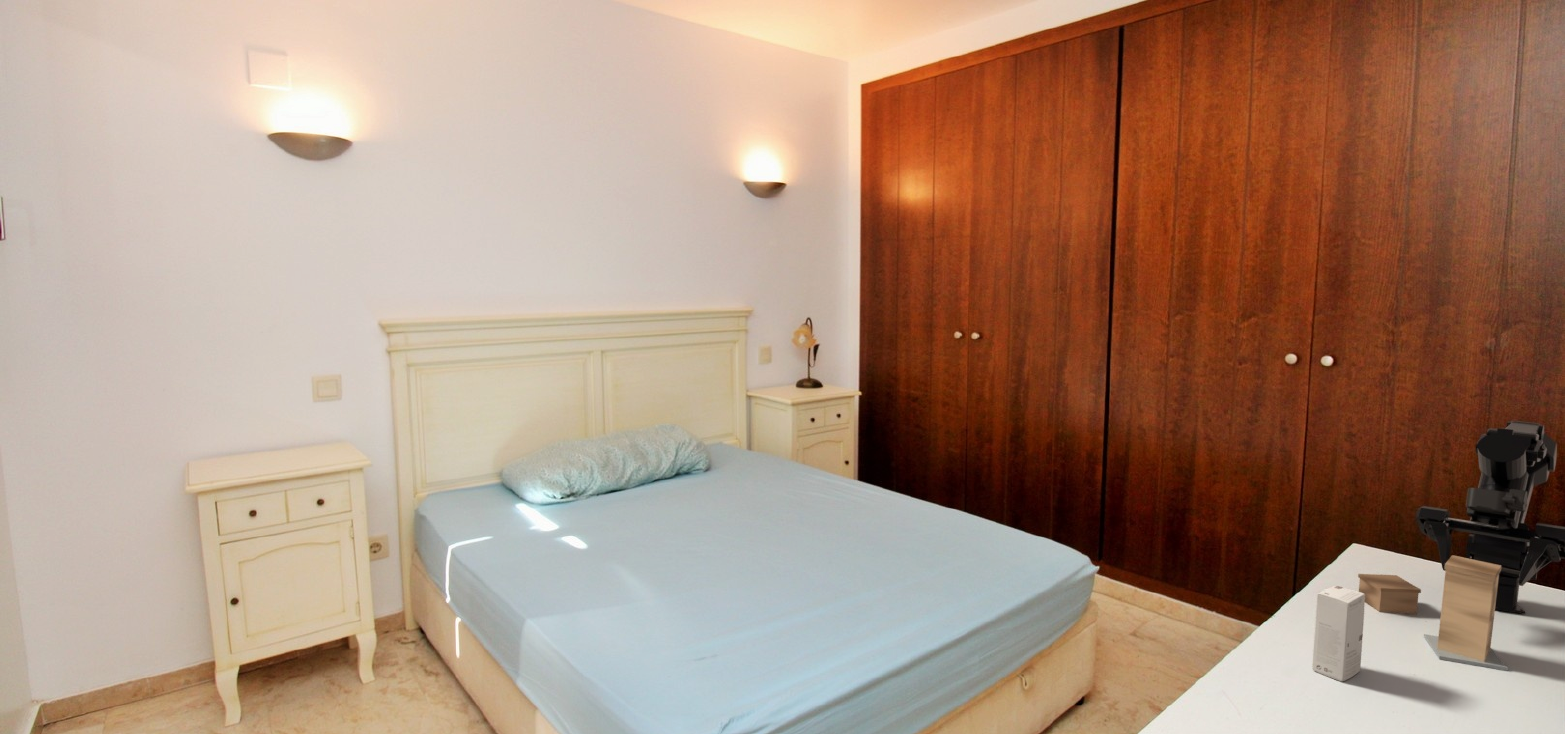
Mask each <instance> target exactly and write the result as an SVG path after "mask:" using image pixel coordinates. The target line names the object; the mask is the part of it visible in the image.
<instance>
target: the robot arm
mask: <svg viewBox="0 0 1565 734" xmlns="http://www.w3.org/2000/svg"><path fill="white" fill-rule="evenodd" d="M1557 447H1558V444H1557V442H1556V441H1555V440H1554V439H1552V437H1550V436H1548V435H1547V433H1545V425H1544V424H1540V423H1538V422H1528V421H1520V420H1512V421H1509V420H1508V421H1507V423H1506V426H1505V428H1503V427H1498V428H1491V427H1490V428H1489V429H1487V430H1486V433H1482V434H1481V435H1480V437H1479V439H1478V440H1477V442H1476V444H1475V454H1477V457H1478V468H1479V470H1480V472H1481V475H1480V478H1479V481H1478V486H1477V487H1468V488H1467V494H1466V500H1465V507H1466V515H1467V517H1470V519H1469V520H1467V519H1466V520H1465V519H1460V518H1453V517H1452V516H1451V514H1450V510H1449V509H1445V508H1440V507H1433V506H1425V505H1422V506H1421V507H1419V508H1418V509H1417V510H1416V513H1415V521H1416V524H1417V527H1418V529H1419V531H1420V533H1421V534H1423V535H1425V536H1428V539H1429V540H1431V541H1435V542H1436V543H1437V547H1438V553H1439V557H1440V559H1439V560H1440V563H1441V569H1442V570H1443V571H1445V572H1446V569H1444V567H1445V563H1446V562H1447V561H1448V560H1449V559H1450V557H1451V552H1452V544H1453V541H1452V537H1451V536H1453V535H1452V534H1453V531H1456V532H1462V533H1467V534H1468V533H1470V534H1469V535H1468V537H1467V541H1466V547H1465V549H1466V550H1465V551H1466V552H1465V558H1468V559H1473V560H1478V561H1482V562H1487V563H1492V564H1496V565H1501V571H1500V573H1499V579H1498V588H1497V596H1496V605H1495V611H1503V612H1510V613H1517V614H1526V610H1525V609H1524V608H1523V607H1522V606H1521V605H1520V604H1519V603H1518V599H1519V598H1518V597H1519V589H1520V586H1521V587H1524V586H1525V584H1526V583H1528V582H1530V580H1531V581H1532V580H1535V581H1536V580H1537V576H1538V572H1539V571H1540V570H1541V569H1542V568H1545V567H1546V566H1547V565H1548V564H1549V563H1552V562H1553V563H1554V562H1555V563H1560V561H1561V559H1562V560H1565V526H1560V525H1553V524H1547V523H1541V522H1537V523H1536V524H1535V528H1534V530H1531V529H1529V526H1528V524H1527V523H1525V521H1526V520H1525V519H1526V516H1527V512H1528V509H1529V504H1530V501H1531V497H1532V494H1533V491H1534V490H1533V489H1534V487H1537V486H1539V485H1541V484H1544V483H1546V482H1547V481H1548V479H1549V475H1550V472H1553V473H1554V472H1555V470H1556V465H1557V457H1558V456H1557V455H1558V454H1557V453H1558V452H1557V451H1558V449H1557Z"/></svg>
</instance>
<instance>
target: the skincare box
mask: <svg viewBox="0 0 1565 734" xmlns="http://www.w3.org/2000/svg"><path fill="white" fill-rule="evenodd" d="M1365 604H1366V603H1365V594H1364V593H1361V592H1359V590H1358V591H1357V590H1353V589H1349V588H1346V587H1342V586H1340V585H1339V586H1338V585H1333V586H1330V587H1327V588H1325V589H1323V590H1322V591H1321V592H1318V593H1317V594H1316V609H1315V623H1314V637H1313V638H1314V639H1313V649H1312V652H1313V653H1312V664H1311V665H1312V666H1311V667H1312V671H1314V672H1315V673H1318V674H1321V675H1322V676H1325V677H1329V679H1334V680H1336V681H1338V682H1345V681H1347V680H1349V679H1351V678H1353V677H1354V676H1355V675H1357V674H1359V672H1360V671H1361V663H1362V652H1363V650H1362V649H1363V638H1364V637H1363V636H1364V634H1363V633H1364V620H1365V619H1364V618H1365Z"/></svg>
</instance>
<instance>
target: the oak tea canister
mask: <svg viewBox="0 0 1565 734" xmlns="http://www.w3.org/2000/svg"><path fill="white" fill-rule="evenodd" d="M1444 569H1446V571H1445V572H1444V573H1445V575H1444V581H1443V582H1444V584H1443V592H1442V602H1441V608H1440V618H1439V621H1440V622H1439V627H1438V628H1439V629H1438V635H1437V636H1438V646H1437V649H1440V650H1444V651H1447V652H1451V653H1454V654H1458V655H1461V656H1465V657H1468V658H1472V659H1475V660H1479V661H1482V662H1484V661H1485V659H1486V657H1487V655H1488V654H1489V652H1490V648H1491V645H1492V636H1493V631H1494V630H1493V629H1494V628H1493V627H1494V622H1495V620H1494V619H1495V614H1496V610H1495V605H1496V596H1497V588H1498V579H1499V573H1500V571H1501V565H1496V564H1492V563H1487V562H1482V561H1478V560H1473V559H1468V558H1466V557H1463V556H1458V555H1453V554H1452V555H1450V559H1449V560H1448V561H1447V562H1446V563H1445V567H1444Z"/></svg>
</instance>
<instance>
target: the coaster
mask: <svg viewBox="0 0 1565 734" xmlns="http://www.w3.org/2000/svg"><path fill="white" fill-rule="evenodd" d="M1438 636H1439V635H1431V634H1425V633H1424V634H1423V638H1424V640H1425V641H1426V643H1427V644H1428V645H1429V646H1430V649H1432V651H1433V652H1434V654H1435V656H1437V658H1438V659H1439V660H1443V661H1449V662H1454V663H1461V664H1466V665H1471V666H1478V667H1483V668H1489V669H1495V670H1500V671H1501V670H1502V671H1506V672H1507V671H1508V666H1507V665H1506V663H1505V662H1504V661H1503V660H1502V659H1501V658H1500V657H1499V656H1498V654H1496V652H1495V651H1494V650H1493V649H1492V648H1491V647H1490V652H1489V654H1488V655H1487V657H1486V659H1485V661H1484V662H1482V661H1479V660H1475V659H1472V658H1468V657H1465V656H1461V655H1458V654H1454V653H1451V652H1447V651H1444V650H1440V649H1437V646H1438Z"/></svg>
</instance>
